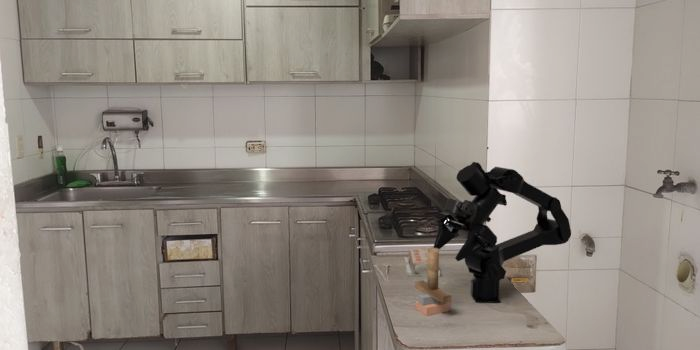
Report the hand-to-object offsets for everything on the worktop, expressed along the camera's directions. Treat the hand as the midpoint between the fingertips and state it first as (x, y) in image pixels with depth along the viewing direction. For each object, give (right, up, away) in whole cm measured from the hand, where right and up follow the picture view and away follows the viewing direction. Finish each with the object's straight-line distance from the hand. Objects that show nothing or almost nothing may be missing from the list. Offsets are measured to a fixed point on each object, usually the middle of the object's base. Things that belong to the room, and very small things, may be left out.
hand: (445, 255), depth 141 cm
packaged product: (-1, -9, +35) cm, 36 cm away
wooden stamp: (-3, -10, 0) cm, 10 cm away
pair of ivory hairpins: (-13, -11, +28) cm, 32 cm away
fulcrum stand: (-3, -14, 0) cm, 14 cm away
